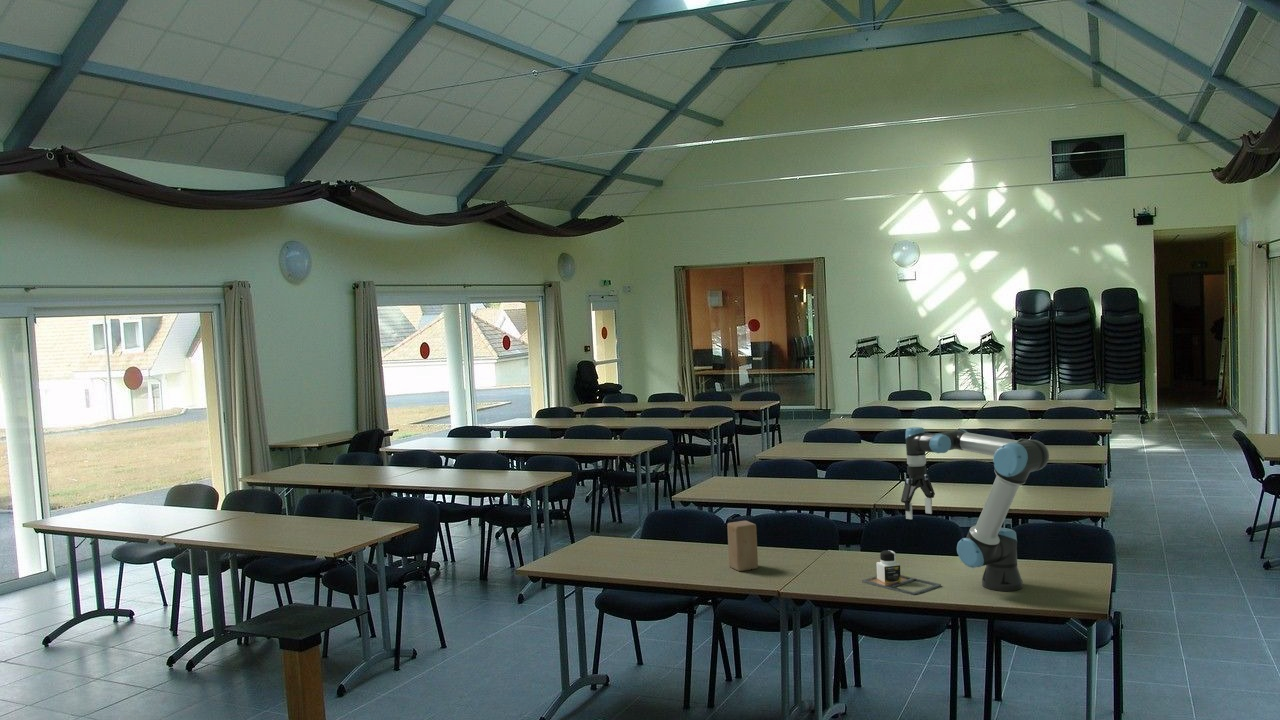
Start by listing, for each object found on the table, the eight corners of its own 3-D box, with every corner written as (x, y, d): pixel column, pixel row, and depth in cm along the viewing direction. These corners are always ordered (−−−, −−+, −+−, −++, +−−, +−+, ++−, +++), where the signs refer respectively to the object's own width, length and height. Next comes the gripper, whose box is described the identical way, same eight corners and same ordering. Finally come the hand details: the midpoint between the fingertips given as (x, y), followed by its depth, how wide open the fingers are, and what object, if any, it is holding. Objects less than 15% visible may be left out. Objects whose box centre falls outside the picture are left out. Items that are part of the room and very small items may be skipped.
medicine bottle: (885, 583, 395) (884, 554, 395) (876, 579, 402) (875, 550, 402) (901, 581, 397) (900, 552, 397) (892, 577, 404) (891, 548, 403)
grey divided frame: (941, 586, 389) (941, 584, 389) (914, 595, 379) (914, 593, 379) (889, 574, 410) (889, 572, 410) (862, 582, 400) (862, 580, 400)
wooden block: (738, 572, 424) (736, 526, 423) (728, 567, 433) (726, 522, 432) (759, 569, 428) (757, 523, 427) (748, 563, 437) (746, 519, 436)
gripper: (926, 460, 412) (928, 510, 413) (890, 468, 397) (893, 520, 397) (941, 461, 407) (944, 512, 407) (906, 469, 391) (908, 522, 392)
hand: (919, 516), depth 402 cm, fingers open, 13 cm apart
